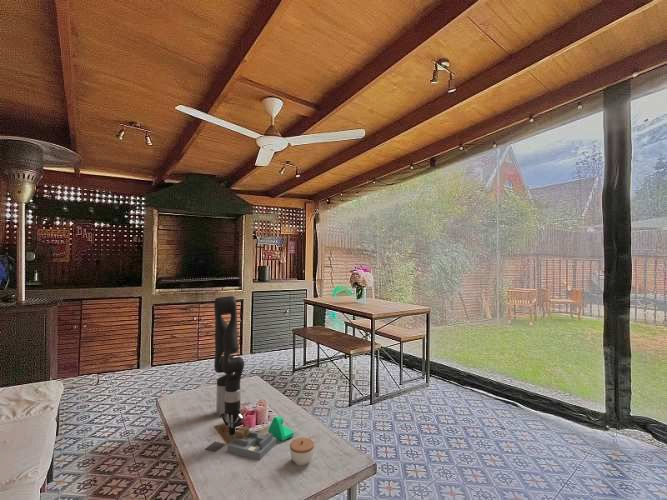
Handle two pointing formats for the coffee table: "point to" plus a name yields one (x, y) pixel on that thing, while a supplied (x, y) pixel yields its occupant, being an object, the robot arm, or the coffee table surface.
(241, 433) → the block
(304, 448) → the lidded jar
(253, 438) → the rail board
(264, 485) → the coffee table surface
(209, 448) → the mat
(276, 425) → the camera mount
